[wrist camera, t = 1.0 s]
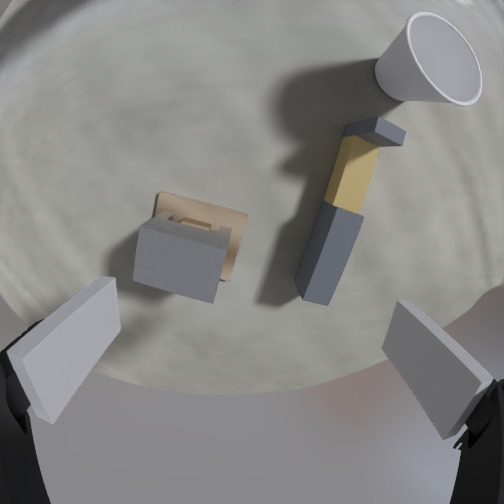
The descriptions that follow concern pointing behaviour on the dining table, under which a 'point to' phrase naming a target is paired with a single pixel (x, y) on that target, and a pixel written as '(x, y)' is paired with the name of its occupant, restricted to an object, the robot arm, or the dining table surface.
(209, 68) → the dining table surface
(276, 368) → the dining table surface
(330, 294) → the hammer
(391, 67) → the cup
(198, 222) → the tan tabbed plate
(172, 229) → the grey block
